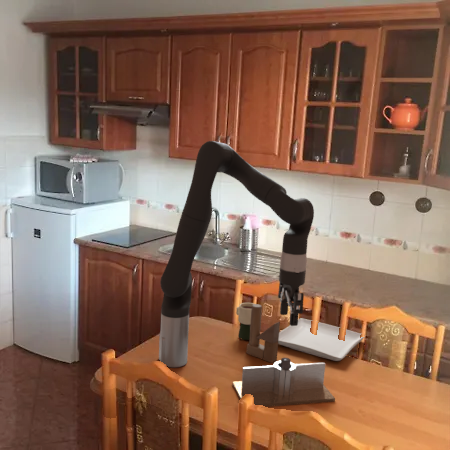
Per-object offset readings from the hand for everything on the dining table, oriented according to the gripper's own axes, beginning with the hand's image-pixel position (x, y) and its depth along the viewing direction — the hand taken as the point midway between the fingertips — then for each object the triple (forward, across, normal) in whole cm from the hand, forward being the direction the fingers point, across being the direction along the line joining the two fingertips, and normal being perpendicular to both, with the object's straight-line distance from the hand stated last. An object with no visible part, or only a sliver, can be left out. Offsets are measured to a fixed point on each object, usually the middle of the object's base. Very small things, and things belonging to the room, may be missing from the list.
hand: (288, 319), depth 157 cm
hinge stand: (+24, 0, 0) cm, 24 cm away
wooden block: (+24, -25, +1) cm, 35 cm away
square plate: (+24, -33, +26) cm, 49 cm away
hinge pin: (+23, 0, 0) cm, 23 cm away
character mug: (+24, -41, 0) cm, 47 cm away
